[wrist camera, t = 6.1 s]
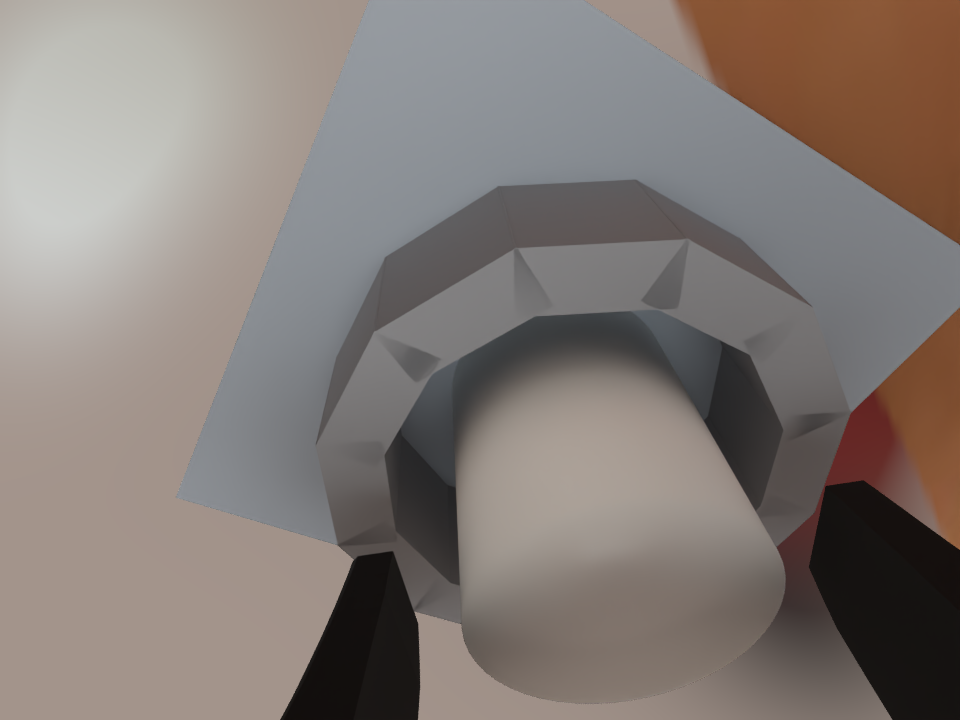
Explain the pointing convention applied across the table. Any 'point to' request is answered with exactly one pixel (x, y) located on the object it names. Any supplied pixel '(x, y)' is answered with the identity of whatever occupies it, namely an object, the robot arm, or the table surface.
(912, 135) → the table surface
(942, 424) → the table surface
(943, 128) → the table surface
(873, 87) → the table surface
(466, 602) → the white rounded cylinder
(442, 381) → the square flange mount
